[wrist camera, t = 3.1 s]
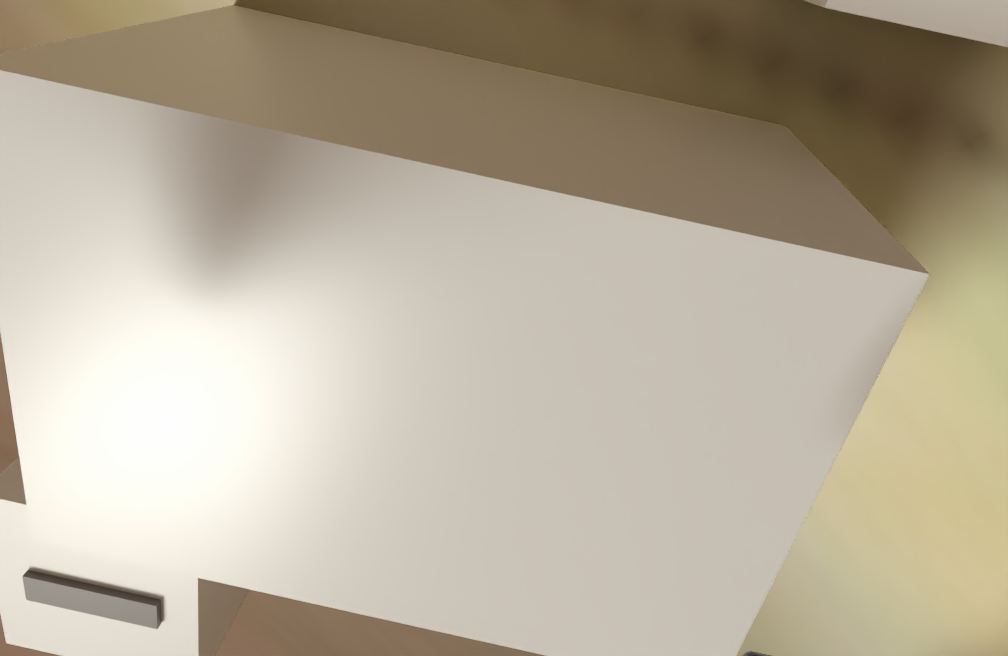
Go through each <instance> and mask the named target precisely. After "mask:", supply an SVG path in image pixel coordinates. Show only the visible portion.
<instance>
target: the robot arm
mask: <svg viewBox="0 0 1008 656" xmlns="http://www.w3.org/2000/svg"><path fill="white" fill-rule="evenodd" d="M743 656H771V655H766V654H762V653H757V652H753V651H750V652H746V653H745V654H744V655H743Z"/></svg>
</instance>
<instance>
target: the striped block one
mask: <svg viewBox="0 0 1008 656" xmlns="http://www.w3.org/2000/svg"><path fill="white" fill-rule="evenodd" d="M248 591H249V589H246V588H241V587H237V586H232V585H228V584H223V583H219V582H214V581H210V580H205V579H201V578H196V577H192V576H187V575H183V574H178V573H174V572H170V571H165V570H161V569H156V568H152V567H147V566H143V565H138V564H134V563H129V562H125V561H120V560H116V559H111V558H107V557H102V556H98V555H93V554H89V553H84V552H80V551H75V550H71V549H66V548H62V547H57V546H53V545H48V544H44V543H40V542H35V541H32V538H31V531H30V524H29V518H28V511H27V504H26V498H25V491H24V484H23V478H22V471H21V465H20V458H19V457H18V458H17V459H16V460H15V461H13V462H12V463H11V464H10V465H9V466H8V467H7V468H6V469H5V470H4V471H3V472H1V473H0V613H1V618H2V624H3V629H4V634H5V639H6V643H8V644H12V645H17V646H21V647H26V648H30V649H35V650H39V651H44V652H48V653H53V654H57V655H62V656H215V654H216V652H217V650H218V648H219V646H220V645H221V643H222V641H223V639H224V637H225V635H226V633H227V631H228V629H229V627H230V626H231V624H232V622H233V620H234V618H235V616H236V614H237V612H238V610H239V608H240V606H241V605H242V603H243V601H244V599H245V597H246V595H247V593H248Z"/></svg>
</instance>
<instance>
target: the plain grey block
mask: <svg viewBox="0 0 1008 656" xmlns="http://www.w3.org/2000/svg"><path fill="white" fill-rule="evenodd" d="M929 275H930V274H929V273H928V272H927V271H926V270H925V269H924V268H923V267H922V266H921V265H920V264H919V263H918V262H917V261H916V260H915V258H914V257H913V256H912V255H911V254H910V253H909V252H908V251H907V250H906V249H905V248H904V247H903V246H902V245H901V244H900V243H899V242H898V241H897V240H896V239H895V238H894V237H893V236H892V235H891V234H890V233H889V232H888V231H887V230H886V229H885V228H884V227H883V226H882V225H881V223H880V222H879V221H878V220H877V219H876V218H875V217H874V216H873V215H872V214H871V213H870V212H869V211H868V210H867V209H866V208H865V207H864V206H863V205H862V204H861V203H860V202H859V201H858V200H857V199H856V198H855V197H854V196H853V195H852V194H851V193H850V192H849V191H848V190H847V188H846V187H845V186H844V185H843V184H842V183H841V182H840V181H839V180H838V179H837V178H836V177H835V176H834V175H833V174H832V173H831V172H830V171H829V170H828V169H827V168H826V167H825V166H824V165H823V164H822V163H821V162H820V161H819V160H818V159H817V158H816V157H815V156H814V155H813V154H812V152H811V151H810V150H809V149H808V148H807V147H806V146H805V145H804V144H803V143H802V142H801V141H800V140H799V139H798V138H797V137H796V136H795V135H794V134H793V133H792V132H791V131H790V130H789V129H788V128H787V127H786V126H785V125H780V124H775V123H771V122H766V121H762V120H757V119H753V118H748V117H743V116H739V115H734V114H730V113H725V112H720V111H716V110H711V109H707V108H702V107H698V106H693V105H688V104H684V103H679V102H675V101H670V100H666V99H661V98H656V97H652V96H647V95H643V94H638V93H633V92H629V91H624V90H620V89H615V88H611V87H606V86H601V85H597V84H592V83H588V82H583V81H579V80H574V79H569V78H565V77H560V76H556V75H551V74H546V73H542V72H537V71H533V70H528V69H524V68H519V67H514V66H510V65H505V64H501V63H496V62H492V61H487V60H482V59H478V58H473V57H469V56H464V55H460V54H455V53H450V52H446V51H441V50H437V49H432V48H427V47H423V46H418V45H414V44H409V43H405V42H400V41H395V40H391V39H386V38H382V37H377V36H373V35H368V34H363V33H359V32H354V31H350V30H345V29H340V28H336V27H331V26H327V25H322V24H318V23H313V22H308V21H304V20H299V19H295V18H290V17H286V16H281V15H276V14H272V13H267V12H263V11H258V10H253V9H249V8H244V7H240V6H235V5H232V6H227V7H222V8H217V9H212V10H207V11H203V12H198V13H193V14H188V15H183V16H178V17H173V18H168V19H164V20H159V21H154V22H149V23H144V24H139V25H134V26H129V27H125V28H120V29H115V30H110V31H105V32H100V33H95V34H90V35H86V36H81V37H76V38H71V39H66V40H61V41H56V42H51V43H47V44H42V45H37V46H32V47H27V48H22V49H17V50H13V51H8V52H3V53H0V331H1V338H2V345H3V351H4V358H5V365H6V371H7V378H8V385H9V391H10V398H11V405H12V411H13V418H14V425H15V431H16V438H17V445H18V451H19V458H20V465H21V471H22V478H23V484H24V491H25V498H26V504H27V511H28V518H29V524H30V531H31V538H32V541H35V542H40V543H44V544H48V545H53V546H57V547H62V548H66V549H71V550H75V551H80V552H84V553H89V554H93V555H98V556H102V557H107V558H111V559H116V560H120V561H125V562H129V563H134V564H138V565H143V566H147V567H152V568H156V569H161V570H165V571H170V572H174V573H178V574H183V575H187V576H192V577H196V578H201V579H205V580H210V581H214V582H219V583H223V584H228V585H232V586H237V587H241V588H246V589H250V590H255V591H259V592H264V593H268V594H273V595H277V596H282V597H286V598H291V599H295V600H300V601H304V602H308V603H313V604H317V605H322V606H326V607H331V608H335V609H340V610H344V611H349V612H353V613H358V614H362V615H367V616H371V617H376V618H380V619H385V620H389V621H394V622H398V623H403V624H407V625H412V626H416V627H421V628H425V629H430V630H434V631H439V632H443V633H447V634H452V635H456V636H461V637H465V638H470V639H474V640H479V641H483V642H488V643H492V644H497V645H501V646H506V647H510V648H515V649H519V650H524V651H528V652H533V653H537V654H542V655H546V656H736V655H737V653H738V651H739V649H740V647H741V645H742V643H743V641H744V639H745V637H746V635H747V633H748V631H749V629H750V627H751V625H752V623H753V621H754V619H755V617H756V615H757V613H758V611H759V609H760V607H761V605H762V603H763V601H764V599H765V597H766V595H767V594H768V592H769V590H770V588H771V586H772V584H773V582H774V580H775V578H776V576H777V574H778V572H779V570H780V568H781V566H782V564H783V562H784V560H785V558H786V556H787V554H788V552H789V550H790V548H791V546H792V544H793V542H794V540H795V538H796V536H797V534H798V532H799V531H800V529H801V527H802V525H803V523H804V521H805V519H806V517H807V515H808V513H809V511H810V509H811V507H812V505H813V503H814V501H815V499H816V497H817V495H818V493H819V491H820V489H821V487H822V485H823V483H824V481H825V479H826V477H827V475H828V473H829V471H830V470H831V468H832V466H833V464H834V462H835V460H836V458H837V456H838V454H839V452H840V450H841V448H842V446H843V444H844V442H845V440H846V438H847V436H848V434H849V432H850V430H851V428H852V426H853V424H854V422H855V420H856V418H857V416H858V414H859V412H860V410H861V408H862V407H863V405H864V403H865V401H866V399H867V397H868V395H869V393H870V391H871V389H872V387H873V385H874V383H875V381H876V379H877V377H878V375H879V373H880V371H881V369H882V367H883V365H884V363H885V361H886V359H887V357H888V355H889V353H890V351H891V349H892V347H893V346H894V344H895V342H896V340H897V338H898V336H899V334H900V332H901V330H902V328H903V326H904V324H905V322H906V320H907V318H908V316H909V314H910V312H911V310H912V308H913V306H914V304H915V302H916V300H917V298H918V296H919V294H920V292H921V290H922V288H923V286H924V284H925V283H926V281H927V279H928V277H929Z"/></svg>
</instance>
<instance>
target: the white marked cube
mask: <svg viewBox="0 0 1008 656" xmlns="http://www.w3.org/2000/svg"><path fill="white" fill-rule="evenodd" d="M804 1H806V2H809V3H812V4H815V5H818V6H821V7H824V8H828V9H833V10H837V11H842V12H847V13H851V14H856V15H860V16H865V17H870V18H874V19H879V20H884V21H888V22H893V23H898V24H902V25H907V26H911V27H916V28H921V29H925V30H930V31H935V32H939V33H944V34H949V35H953V36H958V37H962V38H967V39H972V40H976V41H981V42H986V43H990V44H995V45H1000V46H1004V47H1008V0H804Z"/></svg>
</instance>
